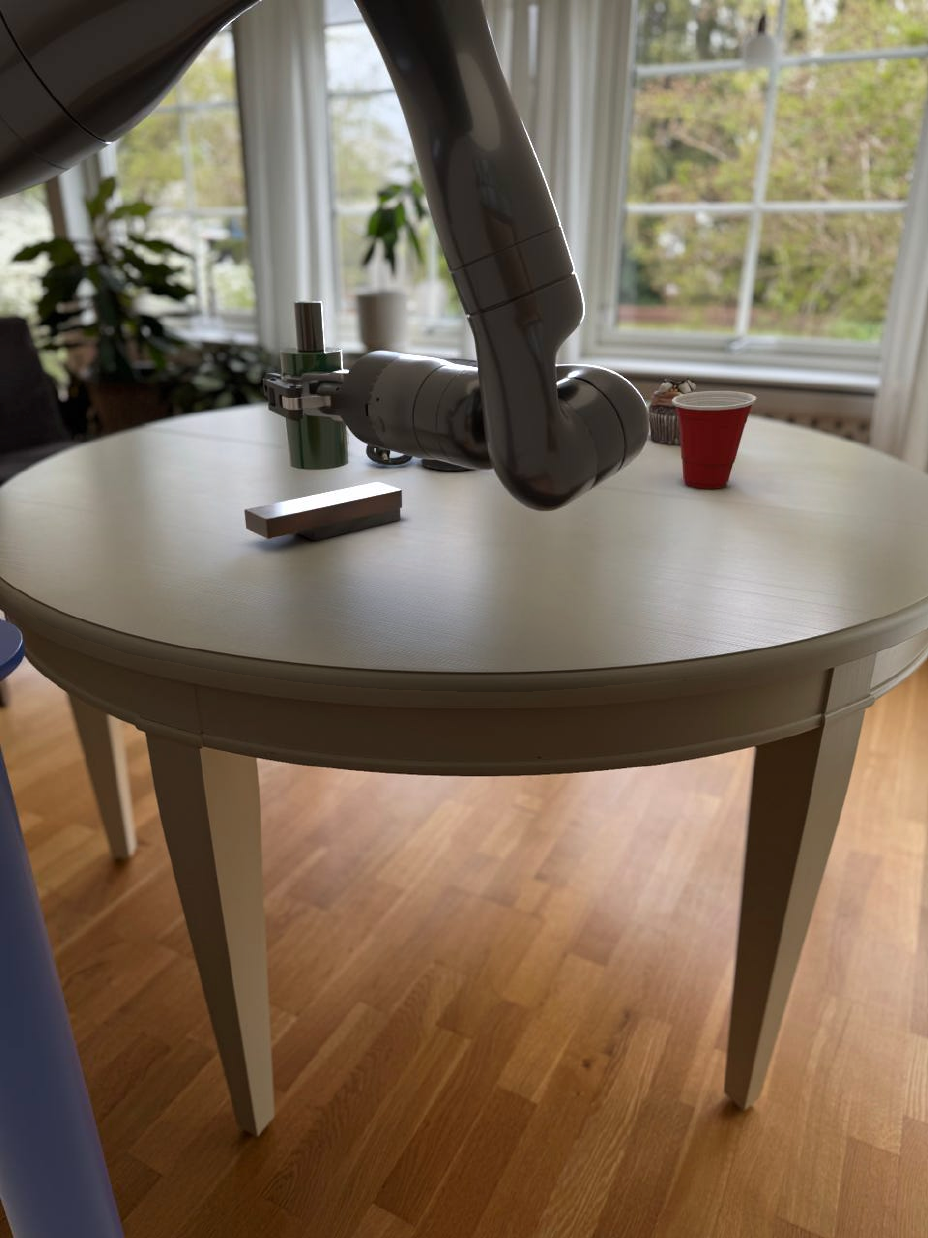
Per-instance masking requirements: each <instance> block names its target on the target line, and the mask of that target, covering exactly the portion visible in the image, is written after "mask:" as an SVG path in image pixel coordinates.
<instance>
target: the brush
mask: <svg viewBox="0 0 928 1238" xmlns="http://www.w3.org/2000/svg"><path fill="white" fill-rule="evenodd" d="M402 508H403V490H402V489H400V488H397V487H394V486H391V485H388V484H385V483H382V482H379V481H375V482H371V483H366V484H362V485H361V484H360V485H356V486H351V487H346V488H343V489H337V490H333V491H327V492H322V493H318V494H312V495H308V496H304V497H298V498H293V499H288V500H283V501H280V502H274V503H270V504H264V505H260V506H253V507H249V508H246V509H244V512H243V513H244V521H245V528H246V530H248V531H250V532H252V533H255V534H257V535H259V536H261V537H263V538H264V539H267V540H269V539H270V540H271V539H274V538H279V537H282V536H286V535H292V534H295V533H296V534H300V535H302V536H304V537H306V538H308V539H311V540H313V541H315V542H316V541H320V540H324V539H328V538H332V537H336V536H340V535H343V534H344V535H345V534H348V533H352V532H357V531H361V530H365V529H368V528H373V527H377V526H382V525H384V524H388V523H389V524H390V523H392V522H397V521H401V509H402Z"/></svg>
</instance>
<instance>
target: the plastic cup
mask: <svg viewBox="0 0 928 1238" xmlns="http://www.w3.org/2000/svg"><path fill="white" fill-rule="evenodd" d="M756 399H757V396H755V395H753V394H752V393H747V392H742V391H732V390H706V391H694V393H688V394H683V395H680V396H677V397H674V398H673V399H672V403H673V404H674V406H675V408H676V413H677V416H678V421H679V432H680V445H679V446H680V457H681V462H682V463H681V464H682V478H683V482H684V484H685V485H686V486H689V487H693V488H697V489H705V490H706V489H707V490H713V489H714V490H715V489H721V488H725V487H726V486H727V484H728V482H729V480H730V477H731V472H732V469H733V466H734V463H735V461H736V458H737V454H738V451H739V447H740V444H741V440H742V437H743V433H744V430H745V427H746V424H747V421H748V418H749V416H750V413H751V409H752V407H753V405H754V404H755V403H756Z"/></svg>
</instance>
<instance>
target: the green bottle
mask: <svg viewBox="0 0 928 1238" xmlns="http://www.w3.org/2000/svg"><path fill="white" fill-rule="evenodd" d="M293 312H294V326H295V339H296V340H295V341H296V347H290V348H284V349H281V350H280V351H279V359H280V369H281V372H280V373H281V374H282V375H291V376H296V377H301V376H302V375H303V374H304V373H309V372H326V373H331V372H336V371H341V370H342V371H343V369H344V360H343V359H344V358H343V357H344V355H343V349H342V348H338V347H331V346H330V347H327V346H326V344H325V330H324V328H325V327H324V314H323V302H322V301H321V300H297V301H294V302H293ZM321 382H323V381H318V387H319V385H320V384H321ZM302 393H303V391H302ZM284 418H285V417H284ZM284 420H285V430H286V441H287V442H286V443H287V454H288V455H287V456H288V464H289V466H290V468H294V469H297V470H298V469H299V470H305V471H323V470H333V469H338V468H341V467H342V468H343V467H345V466H346V465H348V464H349V450H348V449H349V447H348V446H347V431H348V427H347V425H346V424H345V422H344V421H335V420H333V419H332V418H331V417H324V416H313V415H307V414H305V412H304V415H303V419H299V420H298V421H293V420H291V419H287V418H285V419H284Z"/></svg>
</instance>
